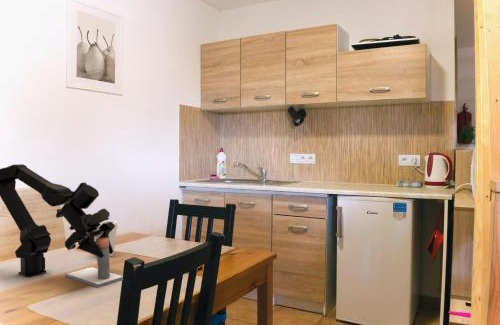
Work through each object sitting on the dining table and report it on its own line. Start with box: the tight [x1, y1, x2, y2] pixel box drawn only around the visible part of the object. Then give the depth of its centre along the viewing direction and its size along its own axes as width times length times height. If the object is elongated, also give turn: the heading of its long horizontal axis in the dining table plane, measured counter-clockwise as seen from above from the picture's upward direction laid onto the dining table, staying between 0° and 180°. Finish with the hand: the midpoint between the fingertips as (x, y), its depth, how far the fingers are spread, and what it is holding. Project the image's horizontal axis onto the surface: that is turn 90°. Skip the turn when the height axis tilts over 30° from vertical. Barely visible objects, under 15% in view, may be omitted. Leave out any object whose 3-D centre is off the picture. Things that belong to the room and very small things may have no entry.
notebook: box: [64, 266, 123, 289], centre depth 131 cm, size 10×18×1 cm, turn 55°
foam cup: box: [94, 219, 118, 258], centre depth 158 cm, size 10×9×13 cm
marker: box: [96, 238, 111, 280], centre depth 128 cm, size 4×4×12 cm
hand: (107, 254), depth 127 cm, fingers open, 5 cm apart
